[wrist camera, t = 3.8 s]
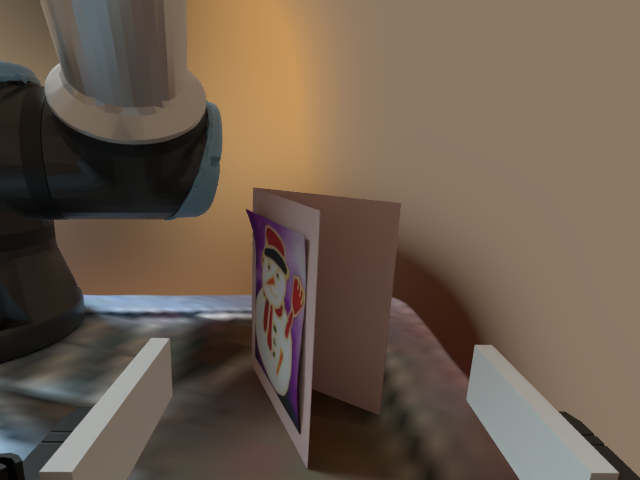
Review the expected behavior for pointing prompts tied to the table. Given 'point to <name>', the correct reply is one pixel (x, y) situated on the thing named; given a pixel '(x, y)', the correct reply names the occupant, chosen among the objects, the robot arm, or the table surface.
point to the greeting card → (320, 300)
